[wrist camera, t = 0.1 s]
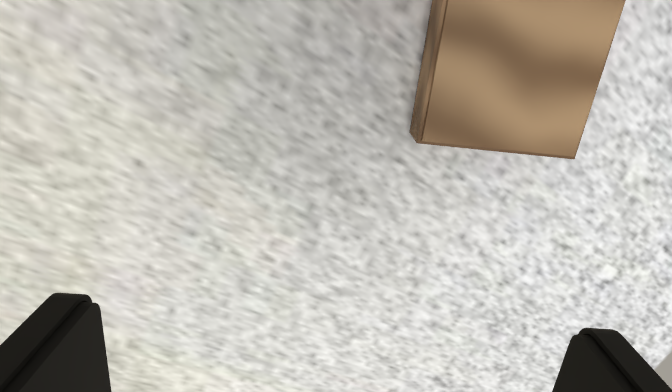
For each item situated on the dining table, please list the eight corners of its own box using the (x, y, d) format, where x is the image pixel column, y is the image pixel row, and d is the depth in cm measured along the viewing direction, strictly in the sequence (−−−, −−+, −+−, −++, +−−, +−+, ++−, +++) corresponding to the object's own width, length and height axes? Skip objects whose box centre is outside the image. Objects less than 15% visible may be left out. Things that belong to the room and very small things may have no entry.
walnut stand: (443, -64, 33) (457, -74, 30) (610, -43, 34) (645, -50, 30) (409, 132, 39) (417, 144, 35) (553, 147, 39) (576, 160, 36)
